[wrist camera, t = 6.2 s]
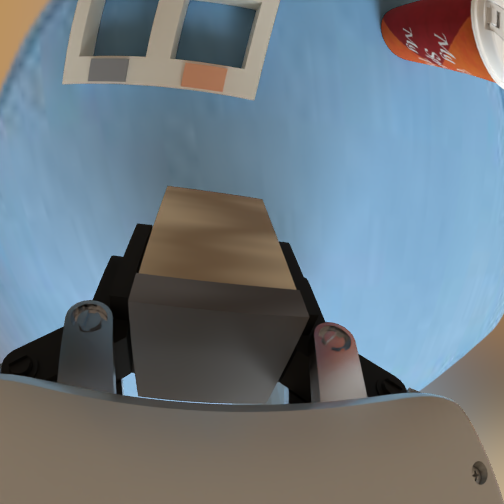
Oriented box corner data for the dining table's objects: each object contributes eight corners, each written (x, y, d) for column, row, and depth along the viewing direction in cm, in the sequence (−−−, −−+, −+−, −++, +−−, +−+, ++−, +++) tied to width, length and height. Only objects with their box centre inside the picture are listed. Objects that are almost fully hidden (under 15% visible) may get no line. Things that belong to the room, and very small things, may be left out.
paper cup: (366, 57, 21) (483, 68, 9) (373, -13, 17) (484, -40, 5) (431, 80, 22) (542, 114, 11) (438, 16, 18) (548, 23, 6)
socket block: (276, -8, 17) (285, -18, 15) (249, 97, 22) (254, 100, 20) (100, -22, 14) (86, -32, 11) (77, 81, 19) (60, 84, 16)
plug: (263, 198, 13) (309, 317, 7) (243, 275, 15) (266, 403, 9) (166, 184, 12) (128, 300, 6) (159, 266, 14) (138, 396, 8)
